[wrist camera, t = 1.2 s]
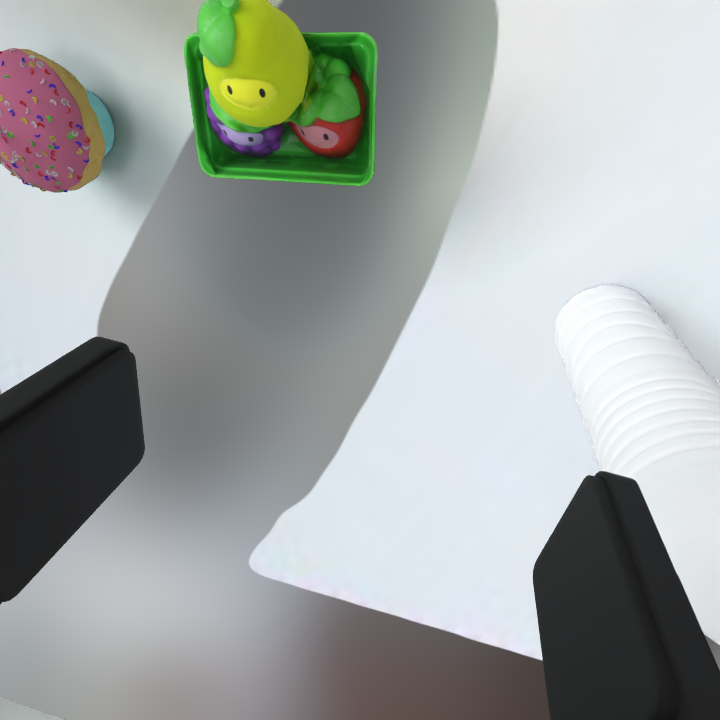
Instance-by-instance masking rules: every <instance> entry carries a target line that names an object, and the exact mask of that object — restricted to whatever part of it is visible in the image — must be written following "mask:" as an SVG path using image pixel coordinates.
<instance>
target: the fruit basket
mask: <svg viewBox="0 0 720 720" xmlns="http://www.w3.org/2000/svg"><path fill="white" fill-rule="evenodd" d="M197 30H198V33H193V34H191V35H189V36H188V37H187V39H186V41H185V45H184V56H185V62H186V68H187V78H188V86H189V93H190V101H191V108H192V115H193V123H194V129H195V136H196V144H197V145H196V146H197V150H198V156H199V162H200V165H201V168H202V169H203V171H204V172H205V173H206V174H208V175H209V176H211V177H215V178H216V177H217V178H238V179H259V180H272V181H287V182H304V183H321V184H336V185H351V186H363V185H366V184H367V183H369V182H370V181H371V179H372V178H373V176H374V171H375V116H376V115H375V114H376V88H377V65H378V49H377V45H376V43H375V41H374V39H373V38H372V37H371V36H370V35H368V34H366V33H364V32H344V33H301V32H300V30H299V29H298V27H297V26H296V24H295V23H294V22H293V21H292V20H291V19H290V18H289V17H288V16H287V15H286V14H285V13H283V12H282V11H280V10H279V9H277V8H275V7H274V6H272V5H271V4H270V3H269V2H268V1H267V0H207V1H206V2H205V3H204V4H203V5H202V7H201V9H200V11H199V15H198V20H197Z"/></svg>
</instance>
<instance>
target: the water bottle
mask: <svg viewBox="0 0 720 720" xmlns="http://www.w3.org/2000/svg"><path fill="white" fill-rule="evenodd" d="M554 335H555V340H556V343H557V346H558V350H559V353H560V355H561V357H562V361H563V365H564V367H565V369H566V371H567V375H568V379H569V382H570V384H571V386H572V390H573V394H574V397H575V399H576V400H577V404H578V408H579V412H580V414H581V417H582V418H583V421H584V425H585V429H586V433H587V435H588V438H589V440H590V442H591V445H592V446H593V449H594V454H595V456H596V458H597V461H598V465H599V467H600V469H601V471H606V472H609V473H613V474H617V475H621V476H624V477H628V478H632V479H634V480H635V481H636V482H637V483H638V485H639V487H640V490H641V492H642V494H643V496H644V499H645V501H646V503H647V506H648V508H649V510H650V513H651V515H652V517H653V520H654V522H655V524H656V527H657V529H658V531H659V534H660V536H661V538H662V541H663V543H664V545H665V547H666V550H667V552H668V554H669V557H670V559H671V561H672V564H673V566H674V568H675V571H676V573H677V575H678V576H679V578H680V580H681V583H682V585H683V587H684V590H685V592H686V594H687V597H688V599H689V601H690V604H691V606H692V608H693V610H694V613H695V615H696V617H697V620H698V622H699V624H700V627H701V629H702V631H703V633H704V634H705V635H707V636H708V637H709V638H711V639H712V640H713V641H715V642H716V643H717V644H719V645H720V386H719V385H718V383H717V382H716V381H715V380H714V379H713V378H712V377H711V376H710V375H709V374H708V373H707V372H706V371H705V369H704V368H703V366H702V365H701V364H700V363H699V362H698V360H697V359H696V358H695V357H694V356H693V355H692V354H691V353H690V352H689V350H688V349H687V348H686V347H685V345H684V344H683V343H682V342H680V341H679V339H678V338H677V336H676V335H675V334H674V333H673V332H672V330H671V329H670V328H669V327H668V326H667V325H666V324H665V323H664V321H663V320H662V319H661V318H660V317H659V315H658V314H657V313H656V312H655V311H654V309H653V308H652V307H651V306H650V305H649V303H648V302H647V301H646V300H645V299H644V298H643V297H642V296H641V295H640V294H638V293H637V292H635V291H633V290H631V289H629V288H624V287H622V286H618V285H601V286H597V287H595V288H590V289H586V290H584V291H582V292H580V293H578V294H577V295H575V296H574V297H572V298H571V299H570V300H569V301H568V303H567V304H566V305H564V306H563V308H562V309H561V311H560V312H559V314H558V316H557V319H556V322H555V329H554Z"/></svg>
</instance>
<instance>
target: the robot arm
mask: <svg viewBox="0 0 720 720" xmlns="http://www.w3.org/2000/svg"><path fill="white" fill-rule="evenodd" d="M144 450H145V444H144V435H143V426H142V417H141V408H140V398H139V388H138V379H137V370H136V360H135V356H134V354H133V353H131V352H130V350H129V348H128V346H127V345H126V344H124V343H121V342H118V341H113V340H110V339H106V338H103V337H94V338H92V339H90V340H88V341H87V342H85V343H83V344H82V345H80V346H79V347H77V348H75V349H74V350H72V351H71V352H69V353H67V354H66V355H64V356H62V357H61V358H59V359H58V360H56V361H54V362H53V363H51V364H50V365H48V366H46V367H45V368H43V369H41V370H40V371H38V372H37V373H35V374H33V375H32V376H30V377H28V378H27V379H25V380H24V381H22V382H20V383H19V384H17V385H16V386H14V387H12V388H11V389H9V390H7V391H6V392H4V393H3V394H1V395H0V604H1V603H2V602H6V601H9V600H11V599H12V598H14V597H15V596H16V595H17V594H18V593H19V592H20V591H21V590H22V589H23V588H24V587H25V586H26V585H27V584H28V583H29V582H30V580H32V578H33V577H34V576H35V575H36V574H37V573H38V572H39V571H40V570H41V569H42V568H43V567H44V566H45V564H46V563H47V562H48V561H49V560H50V559H51V558H52V557H53V556H54V555H55V553H56V552H57V551H58V550H59V549H60V548H61V547H62V546H63V545H64V544H65V543H66V542H67V541H68V540H69V539H70V537H71V536H72V535H73V534H74V533H75V532H76V531H77V530H78V529H79V528H80V527H81V526H82V524H83V523H84V522H85V521H86V520H87V519H88V518H89V517H90V516H91V515H92V514H93V513H94V511H95V510H96V509H97V508H98V507H99V506H100V505H101V504H102V503H103V502H104V501H105V500H106V499H107V498H108V496H109V495H110V494H111V493H112V492H113V491H114V490H115V489H116V488H117V487H118V486H119V485H120V483H121V482H122V481H123V480H124V479H125V478H126V477H127V476H128V475H129V474H130V473H131V472H132V471H133V469H134V468H135V467H136V466H137V465H138V464H139V463H140V461H141V459H142V457H143V455H144ZM533 585H534V593H535V601H536V609H537V617H538V625H539V633H540V641H541V649H542V657H543V665H544V673H545V681H546V689H547V697H548V705H549V713H550V720H720V671H719V668H718V666H717V664H716V662H715V659H714V657H713V654H712V652H711V650H710V648H709V645H708V643H707V640H706V638H705V636H704V634H703V631H702V629H701V627H700V624H699V622H698V620H697V617H696V615H695V613H694V610H693V608H692V606H691V604H690V601H689V599H688V597H687V594H686V592H685V590H684V587H683V585H682V583H681V580H680V578H679V576H678V575H677V573H676V571H675V568H674V566H673V564H672V561H671V559H670V557H669V554H668V552H667V550H666V547H665V545H664V543H663V541H662V538H661V536H660V534H659V531H658V529H657V527H656V524H655V522H654V520H653V517H652V515H651V513H650V510H649V508H648V506H647V503H646V501H645V499H644V496H643V494H642V492H641V490H640V487H639V485H638V483H637V482H636V481H635V480H634V479H632V478H628V477H624V476H621V475H617V474H613V473H609V472H606V471H599V472H598V473H597V474H596V475H595V476H591V475H588V476H587V477H585V479H584V480H583V482H582V483H581V485H580V487H579V488H578V490H577V492H576V494H575V495H574V497H573V499H572V500H571V502H570V504H569V506H568V507H567V509H566V511H565V512H564V514H563V516H562V518H561V519H560V521H559V523H558V524H557V526H556V528H555V530H554V531H553V533H552V535H551V536H550V538H549V540H548V541H547V543H546V545H545V547H544V548H543V550H542V552H541V553H540V555H539V557H538V559H537V560H536V563H535V566H534V570H533ZM0 720H64V719H61V718H58V717H56V716H53V715H50V714H47V713H44V712H41V711H39V710H36V709H33V708H30V707H27V706H25V705H22V704H19V703H16V702H13V701H11V700H8V699H5V698H2V697H0Z"/></svg>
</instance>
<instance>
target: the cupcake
mask: <svg viewBox="0 0 720 720" xmlns="http://www.w3.org/2000/svg"><path fill="white" fill-rule="evenodd" d="M114 135H115V133H114V125H113V122H112V119H111V116H110V114H109V112H108V110H107V108H106V107H105V105H104V104H103V103H102V102H101V100H100V99H99V98H98V97H97V96H95V95H94V94H93V93H91V92H90V91H88V90H86V89H85V88H84V87H83V86H82V85H81V83H80V82H79V81H78V80H77V79H76V78H75V76H73V75H72V74H71V73H70V72H69V71H67V70H66V69H65V68H64V67H62V66H61V65H59V64H57V63H55V62H54V61H52V60H50V59H48V58H46V57H44V56H42V55H40V54H38V53H35V52H33V51H31V50H27V49H17V48H12V49H8V50H5V51H1V52H0V164H1V163H2V165H3V166H4V167H5V168H7V169H8V170H9V171H10V172H12V173H11V175H13V174H14V175H13V176H17V178H19V179H21V180H23V181H22V182H23V183H24V181H25V183H24V184H27V185H31V186H32V187H34V186H35V187H38V188H40V190H42V189H44V190H42V191H46V190H47V191H51V192H67V191H68V190H77V189H80V188H81V187H83V186H84V185H86V184H87V183H89V182H90V181H92V180H94V179H95V178H96V177H97V176H98V175H99V174H100V171H101V166H102V161H103V158H104V156H105V155H107V154H108V153H109V151H110V150H111V148H112V146H113V143H114Z"/></svg>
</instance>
